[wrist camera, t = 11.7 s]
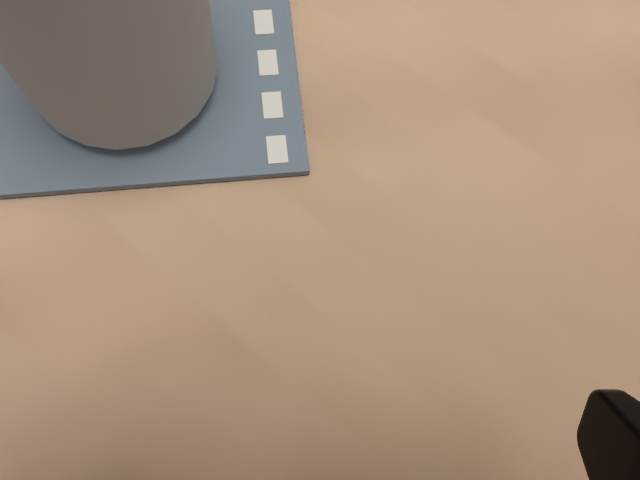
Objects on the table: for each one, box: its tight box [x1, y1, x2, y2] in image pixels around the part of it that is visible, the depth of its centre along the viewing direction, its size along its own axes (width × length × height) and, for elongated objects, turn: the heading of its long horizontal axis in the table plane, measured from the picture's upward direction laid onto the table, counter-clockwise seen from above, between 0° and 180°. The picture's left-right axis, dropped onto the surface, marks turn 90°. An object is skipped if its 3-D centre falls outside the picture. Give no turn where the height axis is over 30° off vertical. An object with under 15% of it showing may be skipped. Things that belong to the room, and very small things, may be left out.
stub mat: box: [0, 0, 309, 199], centre depth 25 cm, size 14×10×1 cm
